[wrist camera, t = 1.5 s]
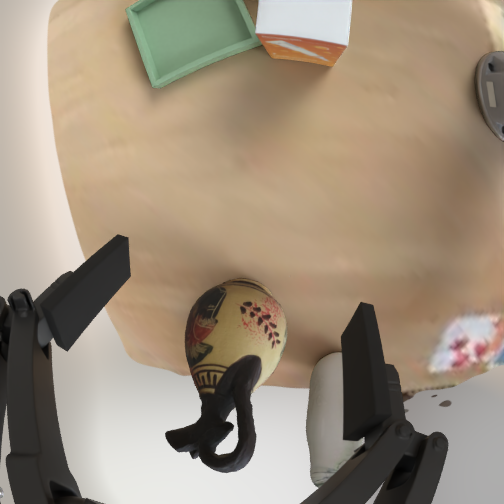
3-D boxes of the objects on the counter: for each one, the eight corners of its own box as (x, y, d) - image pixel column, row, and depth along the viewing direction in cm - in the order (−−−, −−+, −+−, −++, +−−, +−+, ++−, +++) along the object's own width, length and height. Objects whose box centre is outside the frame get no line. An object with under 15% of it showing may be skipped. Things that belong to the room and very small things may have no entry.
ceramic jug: (233, 339, 54) (187, 478, 28) (188, 280, 48) (103, 427, 23) (313, 316, 47) (300, 486, 22) (273, 245, 42) (220, 441, 16)
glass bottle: (350, 375, 54) (349, 494, 30) (306, 369, 55) (292, 492, 31) (367, 346, 49) (376, 481, 25) (318, 340, 50) (308, 482, 26)
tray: (225, -34, 21) (221, -40, 19) (263, 44, 28) (260, 40, 26) (133, 12, 26) (125, 9, 24) (160, 88, 33) (152, 88, 31)
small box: (270, 59, 29) (252, 33, 18) (275, 18, 25) (259, -22, 14) (334, 68, 28) (349, 46, 17) (338, 27, 25) (353, -11, 13)
